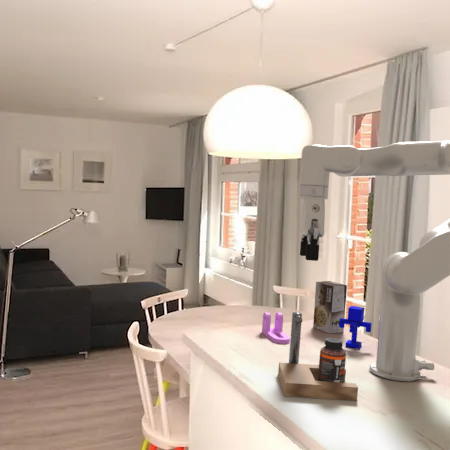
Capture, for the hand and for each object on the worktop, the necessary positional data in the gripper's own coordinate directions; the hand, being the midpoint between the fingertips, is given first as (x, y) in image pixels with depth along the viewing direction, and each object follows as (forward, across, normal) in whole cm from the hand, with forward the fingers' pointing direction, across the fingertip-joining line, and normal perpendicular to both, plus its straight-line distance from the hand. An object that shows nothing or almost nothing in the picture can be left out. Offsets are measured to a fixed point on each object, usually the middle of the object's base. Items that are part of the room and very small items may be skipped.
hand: (308, 258), depth 135 cm
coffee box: (+28, +39, -15) cm, 51 cm away
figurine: (+28, +20, -19) cm, 40 cm away
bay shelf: (+28, -16, -1) cm, 33 cm away
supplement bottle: (+28, -16, -4) cm, 33 cm away
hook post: (+28, -8, +3) cm, 30 cm away
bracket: (+29, +25, +4) cm, 38 cm away
